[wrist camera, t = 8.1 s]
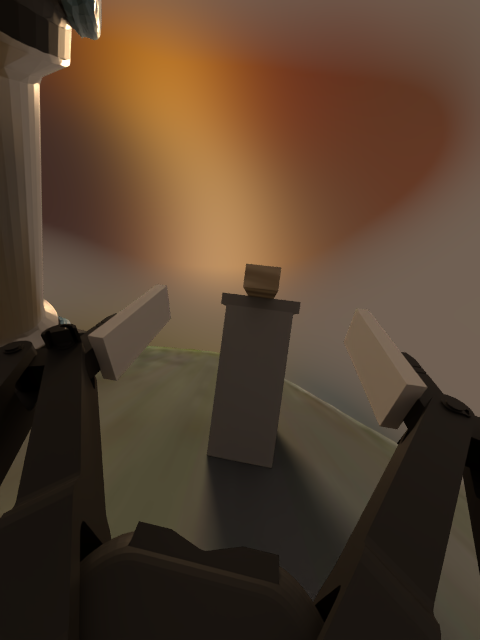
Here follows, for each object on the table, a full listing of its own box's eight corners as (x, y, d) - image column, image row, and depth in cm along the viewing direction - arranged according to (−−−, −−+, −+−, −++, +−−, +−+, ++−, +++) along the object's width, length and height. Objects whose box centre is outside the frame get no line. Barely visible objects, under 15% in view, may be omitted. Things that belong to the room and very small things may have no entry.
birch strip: (278, 290, 28) (281, 267, 28) (243, 286, 28) (246, 263, 28) (269, 305, 56) (271, 293, 56) (252, 302, 56) (253, 291, 56)
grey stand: (277, 469, 39) (300, 302, 38) (201, 454, 40) (222, 292, 40) (272, 421, 57) (288, 307, 56) (220, 412, 58) (234, 300, 57)
